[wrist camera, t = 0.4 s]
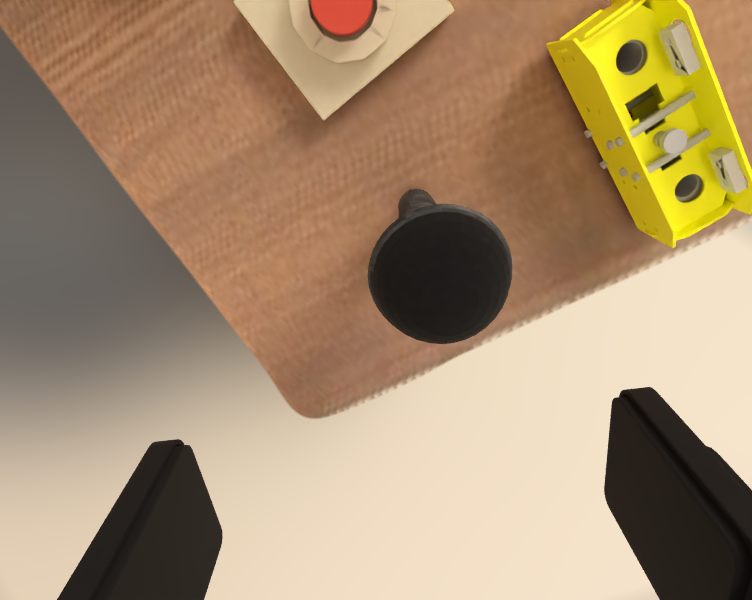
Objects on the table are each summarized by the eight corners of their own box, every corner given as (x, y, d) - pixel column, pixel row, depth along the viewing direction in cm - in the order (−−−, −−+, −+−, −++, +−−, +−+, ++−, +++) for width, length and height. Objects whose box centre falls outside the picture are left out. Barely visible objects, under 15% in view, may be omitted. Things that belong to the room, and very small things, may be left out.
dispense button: (347, -47, 29) (346, -54, 27) (384, 9, 30) (384, 5, 28) (301, -4, 30) (297, -8, 28) (338, 49, 31) (336, 48, 29)
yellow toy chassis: (696, 186, 38) (777, 214, 31) (629, 227, 40) (690, 263, 32) (613, -8, 33) (686, -33, 25) (537, 48, 34) (585, 39, 26)
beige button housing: (369, -119, 30) (369, -146, 26) (449, 14, 33) (459, 6, 30) (240, 6, 33) (224, -3, 29) (325, 118, 36) (320, 123, 32)
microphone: (351, 196, 38) (333, 306, 20) (413, 131, 36) (457, 187, 18) (411, 254, 40) (444, 400, 22) (474, 195, 38) (566, 303, 20)
